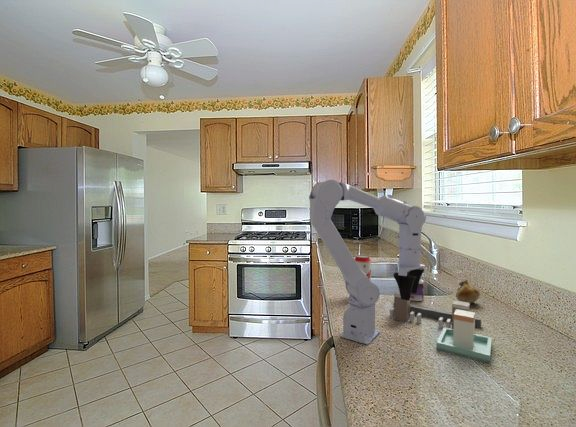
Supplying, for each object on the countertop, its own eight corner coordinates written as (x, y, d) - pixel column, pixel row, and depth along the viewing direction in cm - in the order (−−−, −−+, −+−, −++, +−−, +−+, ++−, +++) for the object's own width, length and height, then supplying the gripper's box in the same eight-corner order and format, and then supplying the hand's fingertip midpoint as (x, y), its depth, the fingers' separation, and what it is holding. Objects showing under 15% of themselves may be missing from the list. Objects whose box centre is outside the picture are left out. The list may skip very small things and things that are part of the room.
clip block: (478, 336, 81) (479, 328, 81) (386, 316, 96) (386, 308, 96) (481, 325, 89) (481, 317, 89) (395, 307, 103) (395, 301, 103)
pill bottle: (426, 301, 110) (426, 275, 109) (411, 301, 110) (411, 275, 110) (420, 296, 115) (420, 271, 115) (405, 296, 115) (406, 271, 115)
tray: (489, 363, 68) (489, 355, 68) (436, 349, 74) (436, 342, 74) (491, 344, 77) (491, 337, 77) (443, 333, 83) (444, 327, 83)
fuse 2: (467, 335, 82) (468, 306, 82) (451, 331, 84) (452, 303, 84) (469, 330, 85) (469, 302, 85) (453, 327, 88) (454, 300, 87)
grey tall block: (473, 350, 73) (473, 317, 72) (453, 345, 75) (453, 314, 75) (474, 343, 76) (475, 312, 76) (455, 339, 79) (455, 308, 78)
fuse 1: (406, 321, 92) (407, 295, 91) (393, 318, 94) (394, 293, 94) (410, 317, 95) (410, 292, 94) (397, 315, 97) (397, 290, 97)
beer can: (373, 297, 115) (374, 255, 114) (365, 301, 110) (366, 258, 109) (358, 294, 119) (359, 254, 118) (350, 297, 114) (351, 256, 114)
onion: (451, 303, 108) (451, 281, 108) (459, 298, 114) (459, 277, 113) (475, 308, 103) (475, 285, 102) (482, 303, 108) (482, 281, 108)
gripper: (418, 253, 76) (418, 306, 77) (430, 246, 88) (429, 292, 89) (390, 250, 80) (390, 300, 81) (405, 244, 92) (404, 288, 93)
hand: (409, 296), depth 85 cm, fingers open, 7 cm apart
